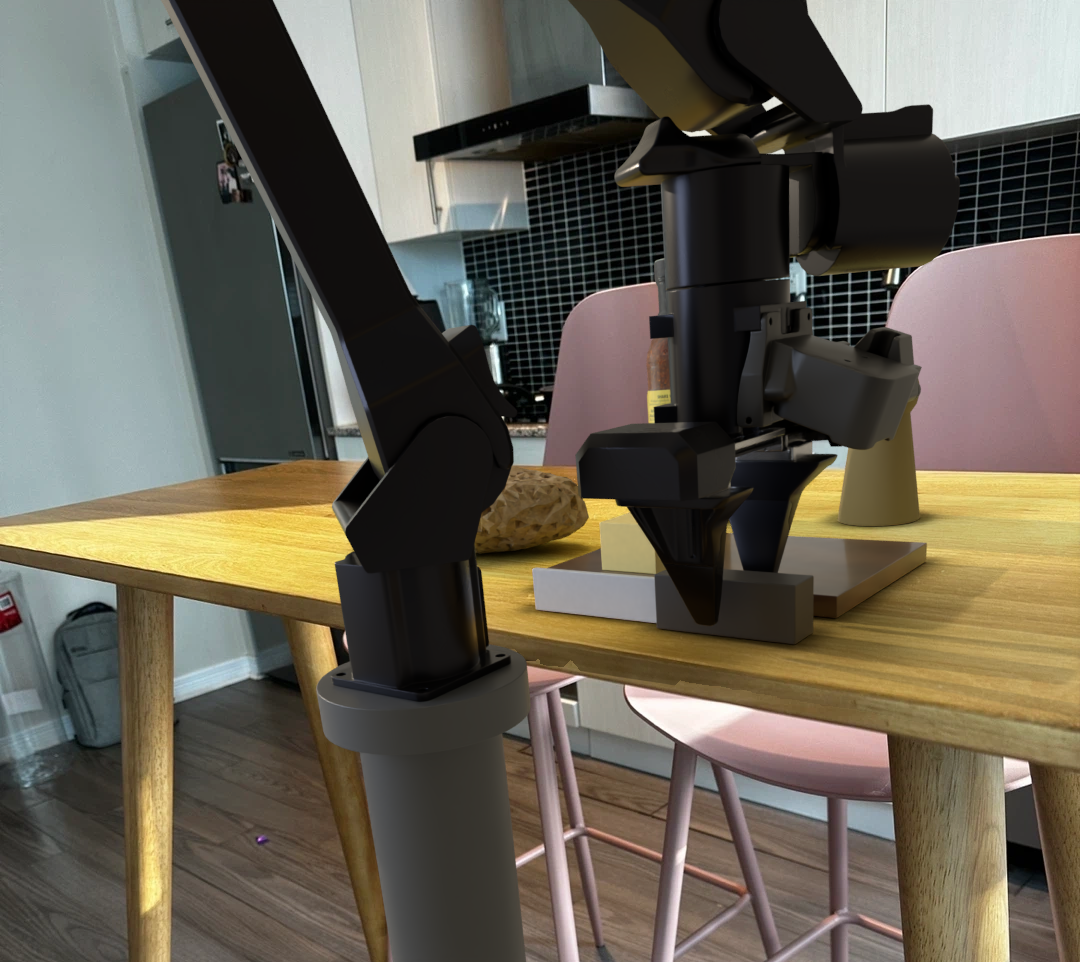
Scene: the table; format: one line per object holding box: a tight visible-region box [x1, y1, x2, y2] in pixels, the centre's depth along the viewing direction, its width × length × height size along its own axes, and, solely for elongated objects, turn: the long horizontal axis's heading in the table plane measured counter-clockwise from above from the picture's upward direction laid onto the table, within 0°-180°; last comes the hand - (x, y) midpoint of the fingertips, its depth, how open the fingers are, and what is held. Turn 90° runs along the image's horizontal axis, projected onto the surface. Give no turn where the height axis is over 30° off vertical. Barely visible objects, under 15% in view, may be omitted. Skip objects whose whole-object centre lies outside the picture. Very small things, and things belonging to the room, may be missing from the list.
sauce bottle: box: [645, 257, 690, 423], centre depth 80 cm, size 6×6×20 cm
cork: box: [837, 378, 921, 527], centre depth 77 cm, size 6×6×11 cm
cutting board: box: [547, 532, 928, 619], centre depth 65 cm, size 14×20×1 cm
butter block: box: [598, 511, 666, 574], centre depth 65 cm, size 6×4×3 cm
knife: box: [531, 567, 814, 645], centre depth 56 cm, size 2×17×3 cm, turn 52°
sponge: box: [475, 465, 590, 554], centre depth 80 cm, size 13×8×20 cm
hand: (735, 608), depth 53 cm, fingers open, 6 cm apart
